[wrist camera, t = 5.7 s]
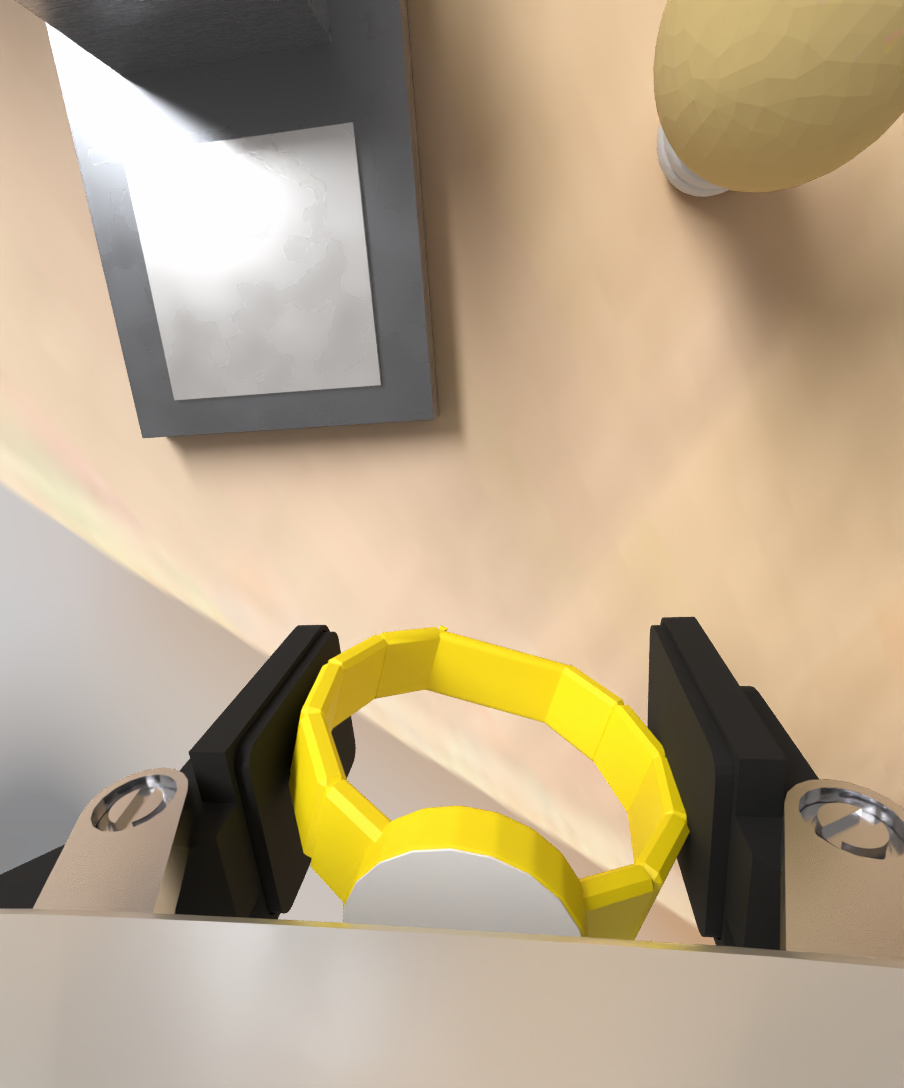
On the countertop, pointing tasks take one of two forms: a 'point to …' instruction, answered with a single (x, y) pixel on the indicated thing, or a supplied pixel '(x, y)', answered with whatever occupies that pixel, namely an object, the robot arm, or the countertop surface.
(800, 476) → the countertop surface
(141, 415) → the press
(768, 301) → the countertop surface
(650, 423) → the countertop surface
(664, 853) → the watch
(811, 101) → the light bulb
